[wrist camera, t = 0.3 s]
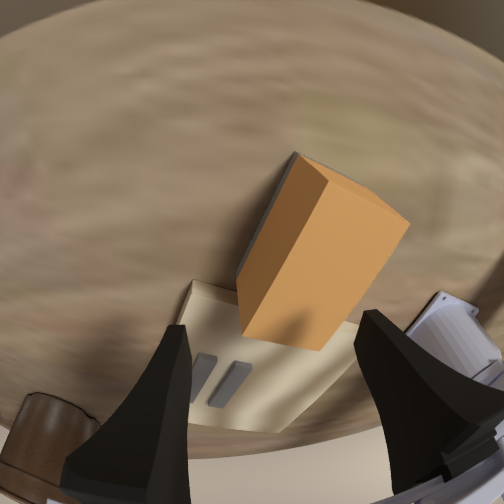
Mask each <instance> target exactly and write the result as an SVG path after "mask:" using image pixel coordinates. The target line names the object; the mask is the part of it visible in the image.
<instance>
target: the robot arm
mask: <svg viewBox="0 0 504 504" xmlns="http://www.w3.org/2000/svg"><path fill="white" fill-rule="evenodd" d="M478 312H479V309H478V308H477V307H475V306H473V305H471V304H469V303H467V302H465V301H462V300H460V299H458V298H456V297H454V296H452V295H449V294H447V293H445V292H443V291H441V292H439V293H438V294H437V295H436V296H435V298H434V299H433V300H432V301H431V303H430V304H429V305H428V307H427V308H426V309H425V310H424V312H423V313H422V314H421V315H420V317H419V318H418V319H417V320H416V321H415V323H414V324H413V325H412V326H411V327H410V329H409V330H408V331H407V332H406V333H404V332H403V331H401V330H400V329H399V328H398V327H397V326H396V325H395V324H393V323H392V322H391V321H390V320H389V319H388V318H387V317H385V316H384V315H383V314H382V313H381V312H379V311H378V310H377V309H374V310H366V311H364V312H363V315H362V318H361V322H360V325H359V328H358V331H357V334H356V337H355V340H354V343H353V345H354V349H355V353H356V356H357V360H358V363H359V366H360V368H361V371H362V373H363V376H364V378H365V380H366V383H367V385H368V387H369V390H370V392H371V394H372V397H373V399H374V401H375V404H376V406H377V409H378V412H379V415H380V419H381V423H382V426H383V430H384V435H385V439H386V443H387V449H388V455H389V461H390V470H391V480H392V491H393V494H394V496H392V497H389V498H386V499H383V500H380V501H377V502H374V503H371V504H412V503H414V502H415V503H414V504H491V503H492V502H494V501H495V500H496V499H497V498H498V497H499V496H500V495H501V496H502V498H503V500H504V361H502V356H501V352H500V350H499V348H498V347H497V345H496V344H495V343H494V341H493V340H492V338H491V337H490V336H489V335H488V333H487V332H486V331H485V329H484V328H483V327H482V325H481V324H480V323H479V322H478V320H477V319H476V318H475V316H476V315H477V313H478ZM191 387H192V355H191V351H190V346H189V341H188V336H187V331H186V326H185V324H182V325H169V326H168V327H167V329H166V331H165V334H164V336H163V338H162V340H161V342H160V344H159V346H158V348H157V350H156V352H155V353H154V355H153V357H152V359H151V361H150V362H149V364H148V366H147V368H146V369H145V371H144V372H143V374H142V376H141V377H140V379H139V380H138V382H137V383H136V385H135V386H134V388H133V389H132V391H131V392H130V393H129V395H128V396H127V397H126V399H125V400H124V401H123V403H122V404H121V405H120V406H119V408H118V409H117V410H116V411H115V412H114V413H113V415H112V416H111V417H110V418H109V419H108V420H107V421H106V422H105V423H104V424H103V425H102V426H101V427H100V428H99V429H98V430H97V431H96V432H95V433H94V434H93V435H92V436H91V437H90V438H89V439H88V440H87V441H86V442H84V443H83V444H82V445H81V446H79V447H78V448H77V449H76V450H74V451H73V452H72V453H71V454H69V455H68V456H67V457H66V459H65V462H64V465H63V468H62V473H61V479H60V485H59V489H60V490H61V492H62V493H64V494H66V495H67V496H69V497H71V498H73V499H75V500H77V501H79V502H81V503H82V504H191V498H190V487H189V476H188V455H187V427H188V416H189V407H190V397H191ZM46 504H65V503H62V502H59V501H56V500H53V499H50V498H48V499H47V503H46Z"/></svg>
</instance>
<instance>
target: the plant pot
mask: <svg viewBox="0 0 504 504" xmlns="http://www.w3.org/2000/svg"><path fill="white" fill-rule="evenodd" d="M100 427H101V426H100V424H99V423H98V422H97V421H96V420H95V419H94V418H88V417H87V416H86V415H85V413H84V412H83V410H81V409H79V408H77V407H76V406H74V405H72V404H70V403H67V402H66V401H64V400H62V399H59V398H56V397H54V396H50V395H46V394H42V393H34V394H33V395H31V394H28V395H27V396H26V398H25V400H24V402H23V404H22V406H21V408H20V410H19V412H18V415H17V417H16V419H15V421H14V423H13V426H12V428H11V430H10V433H9V435H8V437H7V439H6V442H5V444H4V446H3V449H2V451H1V454H0V493H1V494H3V495H5V496H7V497H8V498H10V499H12V500H14V501H16V502H18V503H20V504H46V503H47V499H48V498H50V499H53V500H56V501H59V502H62V503H65V504H82V503H81V502H79V501H77V500H75V499H73V498H71V497H69V496H67V495H66V494H64V493H62V492H61V490H60V489H59V485H60V479H61V473H62V468H63V465H64V462H65V459H66V457H67V456H68V455H69V454H71V453H72V452H73V451H74V450H76V449H77V448H78V447H79V446H81V445H82V444H83V443H84V442H86V441H87V440H88V439H89V438H90V437H91V436H92V435H93V434H94V433H95V432H96V431H97V430H98V429H99V428H100Z"/></svg>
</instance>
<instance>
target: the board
mask: <svg viewBox="0 0 504 504" xmlns="http://www.w3.org/2000/svg"><path fill="white" fill-rule="evenodd" d="M182 324H185V326H186V331H187V336H188V341H189V346H190V351H191V355H192V365H193V363H194V361H195V359H196V357H197V355H198V353H199V352H200V353H204V354H209V355H213V356H217V364H216V366H215V367H214V369H213V371H212V372H211V374H210V376H209V377H208V379H207V381H206V382H205V384H204V386H203V387H202V389H201V391H200V392H199V394H198V396H197V397H196V399H195V401H194V402H193V403H190V407H189V416H188V423H194V424H200V425H207V426H213V427H221V428H229V429H238V430H248V431H259V432H274V433H279V432H280V431H282V430H283V429H284V428H285V427H286V426H288V425H289V424H290V423H291V422H292V421H293V420H294V419H296V418H297V417H298V416H299V415H300V414H301V413H302V412H303V411H304V410H306V409H307V408H308V407H309V406H310V405H311V404H312V403H313V402H314V401H315V400H316V399H317V398H318V397H319V396H321V395H322V394H323V393H324V392H325V391H326V390H327V389H328V388H329V387H330V386H331V385H332V384H333V383H334V382H335V381H336V380H337V379H338V378H339V377H340V376H341V375H342V374H343V373H344V372H345V371H346V369H347V368H348V367H349V366H350V365H351V364H352V363H353V362H354V361H355V360H356V359H357V356H356V353H355V349H354V345H353V343H354V340H355V337H356V334H357V331H358V328H359V325H358V324H354V323H350V322H346V321H344V322H343V323H342V324H341V325H340V327H339V328H338V329H337V331H336V332H335V333H334V334H333V336H332V337H331V338H330V339H329V341H328V342H327V343H326V344H325V346H324V347H323V348H322V349H321V350H320V351H314V350H308V349H303V348H297V347H292V346H287V345H282V344H277V343H272V342H267V341H262V340H258V339H253V338H249V337H244V336H242V333H241V323H240V314H239V304H238V295H237V292H234V291H231V290H227V289H224V288H220V287H217V286H214V285H210V284H207V283H204V282H200V281H197V280H194V279H193V281H192V283H191V286H190V288H189V291H188V293H187V296H186V298H185V301H184V304H183V306H182V309H181V311H180V314H179V316H178V319H177V322H176V324H175V325H182ZM235 360H236V361H241V362H246V363H251V364H252V368H253V370H252V371H251V372H250V374H249V375H248V376H247V378H246V379H245V380H244V382H243V383H242V384H241V386H240V387H239V388H238V390H237V391H236V392H235V394H234V395H233V396H232V397H231V399H230V400H229V401H228V403H227V404H226V405H225V407H224V408H223V409H222V408H216V407H210V406H208V400H209V399H210V397H211V396H212V394H213V393H214V391H215V390H216V388H217V387H218V385H219V384H220V382H221V381H222V379H223V378H224V376H225V375H226V373H227V372H228V370H229V369H230V367H231V366H232V364H233V362H234V361H235Z"/></svg>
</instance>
